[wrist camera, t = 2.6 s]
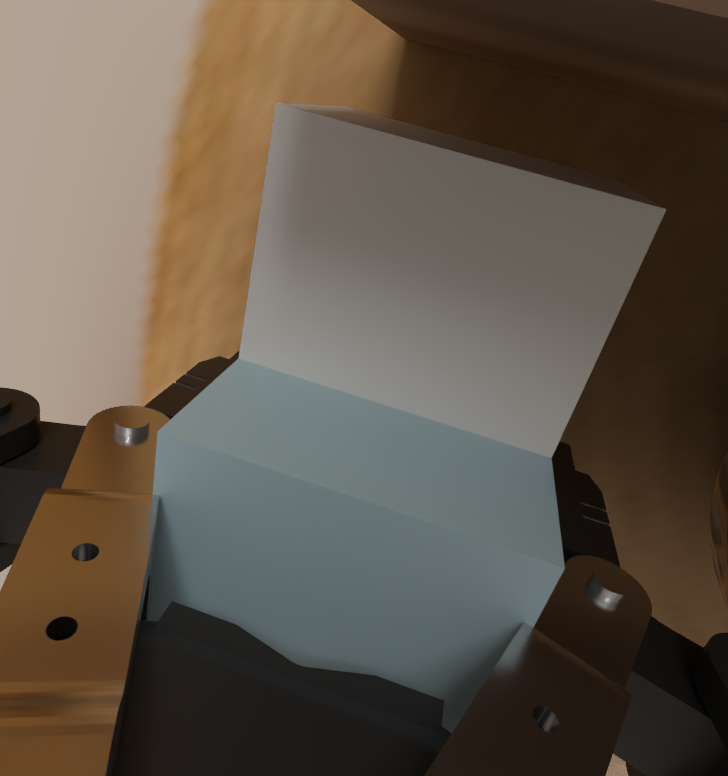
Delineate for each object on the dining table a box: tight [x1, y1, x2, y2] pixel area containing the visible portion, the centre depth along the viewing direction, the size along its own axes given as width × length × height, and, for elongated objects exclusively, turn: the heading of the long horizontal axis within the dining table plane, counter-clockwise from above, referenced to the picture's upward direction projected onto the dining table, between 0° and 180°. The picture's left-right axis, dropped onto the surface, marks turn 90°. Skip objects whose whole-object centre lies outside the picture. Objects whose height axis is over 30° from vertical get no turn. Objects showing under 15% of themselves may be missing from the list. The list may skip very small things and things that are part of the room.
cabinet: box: [149, 103, 666, 733], centre depth 10 cm, size 9×5×8 cm, turn 165°
